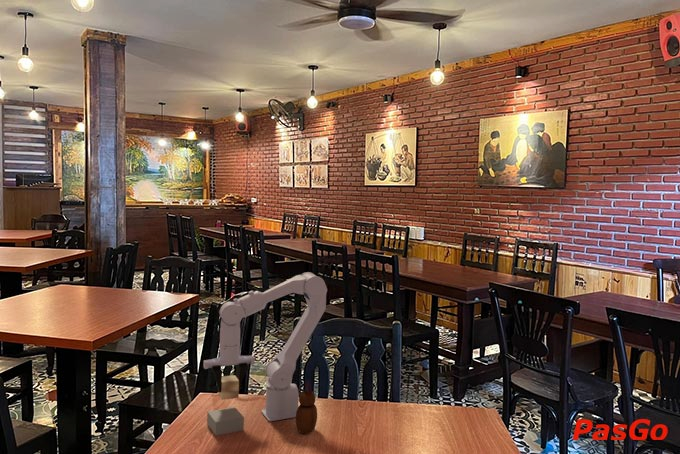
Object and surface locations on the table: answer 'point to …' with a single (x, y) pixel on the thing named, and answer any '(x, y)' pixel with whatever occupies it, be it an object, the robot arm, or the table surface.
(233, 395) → the maple cube
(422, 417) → the table surface
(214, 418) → the slate base block
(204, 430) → the table surface
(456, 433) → the table surface
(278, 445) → the table surface
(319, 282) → the robot arm
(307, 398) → the wooden figurine
